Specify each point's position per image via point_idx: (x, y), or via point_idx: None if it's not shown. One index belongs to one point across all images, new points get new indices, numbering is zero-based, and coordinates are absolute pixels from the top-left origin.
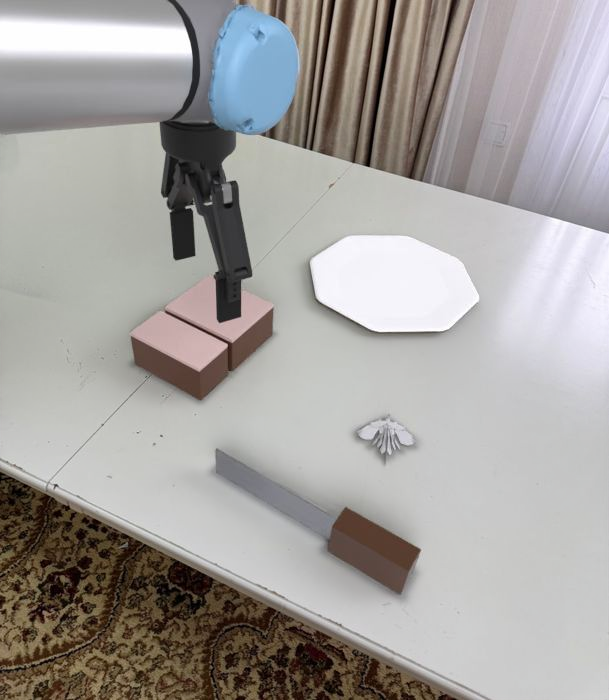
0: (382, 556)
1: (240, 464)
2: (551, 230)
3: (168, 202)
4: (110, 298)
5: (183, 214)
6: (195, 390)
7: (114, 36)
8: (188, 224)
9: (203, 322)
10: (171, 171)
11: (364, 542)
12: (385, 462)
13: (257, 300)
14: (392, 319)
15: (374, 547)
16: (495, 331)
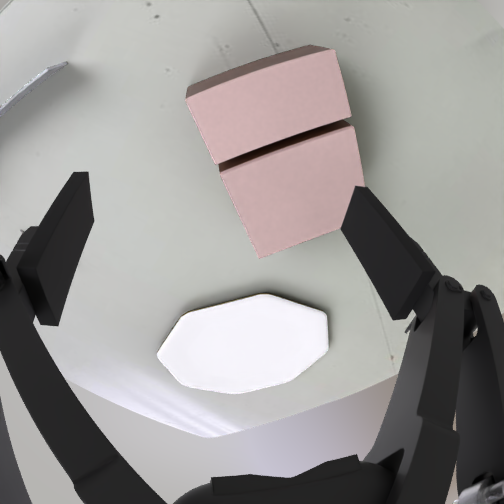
0: None
1: (16, 92)
2: (232, 429)
3: (455, 291)
4: (435, 97)
5: (403, 295)
6: (195, 85)
7: None
8: (382, 279)
9: (284, 157)
10: (491, 395)
11: None
12: (23, 232)
13: (279, 245)
14: (196, 331)
15: None
16: (147, 373)
